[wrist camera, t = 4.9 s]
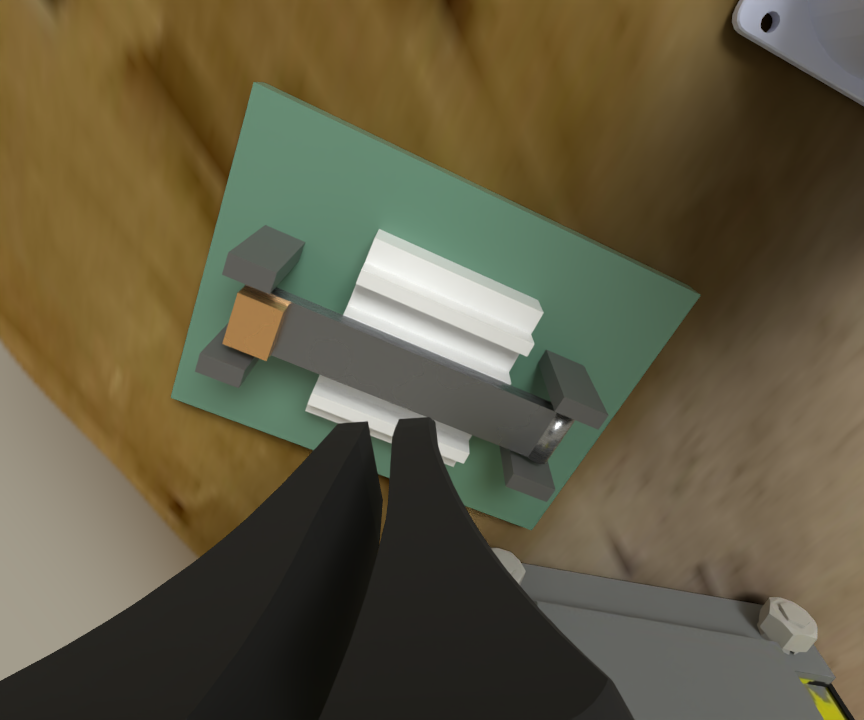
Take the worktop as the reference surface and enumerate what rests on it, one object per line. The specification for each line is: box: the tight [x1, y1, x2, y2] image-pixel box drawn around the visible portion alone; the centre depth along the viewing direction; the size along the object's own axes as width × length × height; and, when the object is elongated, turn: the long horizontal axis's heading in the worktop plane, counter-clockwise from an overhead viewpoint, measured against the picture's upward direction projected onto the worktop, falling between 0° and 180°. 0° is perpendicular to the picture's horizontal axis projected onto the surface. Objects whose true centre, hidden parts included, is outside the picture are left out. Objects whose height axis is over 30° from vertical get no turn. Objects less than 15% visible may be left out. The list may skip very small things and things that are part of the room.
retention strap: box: [222, 284, 575, 464], centre depth 17 cm, size 12×2×1 cm, turn 66°
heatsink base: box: [171, 82, 701, 530], centre depth 19 cm, size 16×12×4 cm
